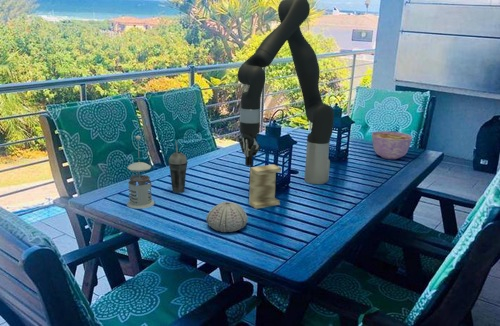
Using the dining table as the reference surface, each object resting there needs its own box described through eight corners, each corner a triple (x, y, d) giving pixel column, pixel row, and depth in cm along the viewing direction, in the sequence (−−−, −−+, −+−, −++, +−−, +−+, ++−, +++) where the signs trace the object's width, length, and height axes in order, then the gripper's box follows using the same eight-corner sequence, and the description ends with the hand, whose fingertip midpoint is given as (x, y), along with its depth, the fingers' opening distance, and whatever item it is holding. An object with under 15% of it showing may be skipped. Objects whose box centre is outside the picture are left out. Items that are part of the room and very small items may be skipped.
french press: (130, 210, 164) (127, 139, 157) (122, 199, 174) (119, 132, 167) (158, 206, 169) (156, 137, 162) (148, 195, 178) (146, 130, 172)
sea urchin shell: (214, 237, 145) (214, 213, 143) (200, 221, 157) (200, 198, 155) (254, 231, 150) (255, 207, 148) (238, 216, 162) (238, 194, 160)
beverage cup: (191, 189, 187) (190, 140, 181) (182, 195, 180) (182, 144, 175) (174, 187, 189) (173, 138, 183) (165, 192, 182) (164, 142, 177)
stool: (272, 200, 178) (273, 164, 174) (279, 204, 174) (281, 167, 170) (249, 204, 173) (250, 167, 169) (255, 208, 169) (257, 171, 165)
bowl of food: (367, 151, 254) (369, 130, 251) (406, 153, 251) (408, 132, 248) (371, 161, 235) (373, 138, 232) (413, 163, 232) (416, 140, 229)
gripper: (267, 123, 172) (266, 168, 177) (250, 116, 183) (248, 160, 188) (249, 124, 168) (248, 171, 173) (232, 117, 179) (231, 162, 184)
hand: (248, 165), depth 180 cm, fingers closed
